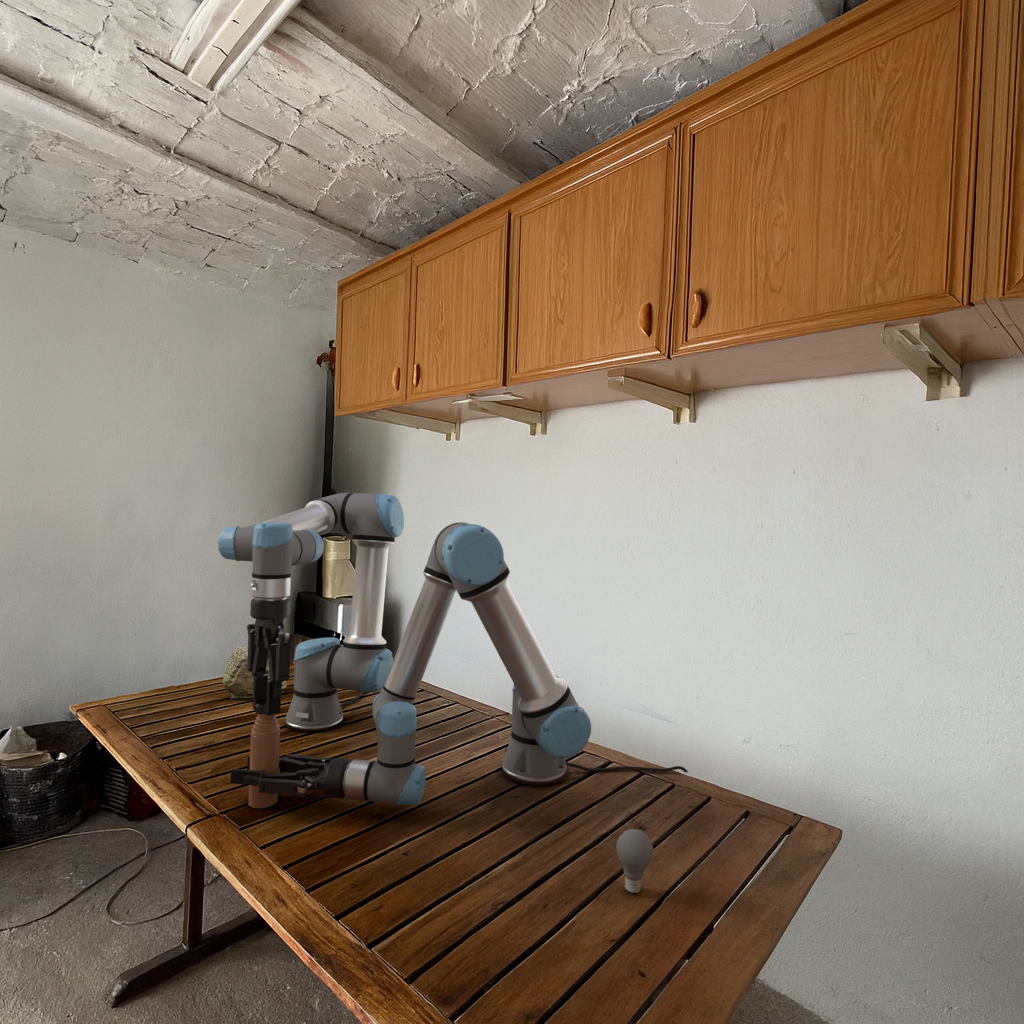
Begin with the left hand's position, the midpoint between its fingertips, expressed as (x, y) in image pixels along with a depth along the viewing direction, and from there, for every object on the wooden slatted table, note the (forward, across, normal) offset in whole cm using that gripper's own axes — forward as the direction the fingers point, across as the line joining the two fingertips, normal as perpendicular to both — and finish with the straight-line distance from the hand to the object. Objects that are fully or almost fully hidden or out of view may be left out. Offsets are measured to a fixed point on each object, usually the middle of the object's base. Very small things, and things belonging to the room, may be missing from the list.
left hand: (266, 710), depth 130 cm
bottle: (+19, 0, 0) cm, 19 cm away
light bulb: (+19, +72, +25) cm, 78 cm away
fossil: (+19, -65, +34) cm, 76 cm away
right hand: (+13, -4, -3) cm, 14 cm away
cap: (-2, 0, 0) cm, 2 cm away
